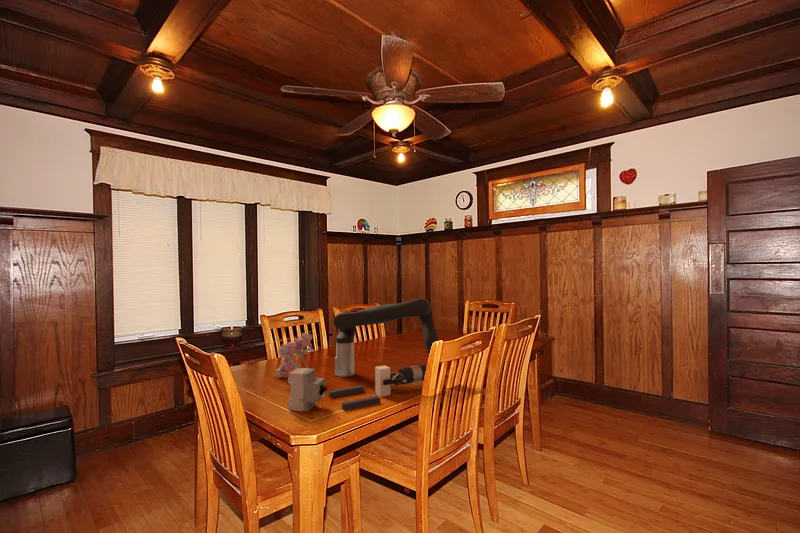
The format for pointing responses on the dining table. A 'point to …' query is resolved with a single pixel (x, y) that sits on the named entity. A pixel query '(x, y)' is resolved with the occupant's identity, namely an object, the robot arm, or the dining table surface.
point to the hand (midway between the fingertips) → (379, 380)
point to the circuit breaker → (305, 389)
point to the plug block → (381, 375)
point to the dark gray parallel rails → (354, 403)
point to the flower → (290, 350)
